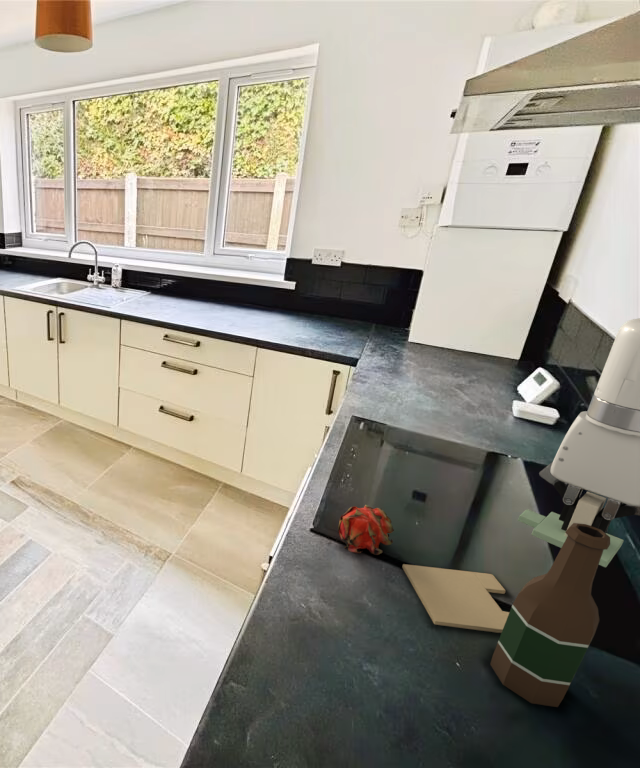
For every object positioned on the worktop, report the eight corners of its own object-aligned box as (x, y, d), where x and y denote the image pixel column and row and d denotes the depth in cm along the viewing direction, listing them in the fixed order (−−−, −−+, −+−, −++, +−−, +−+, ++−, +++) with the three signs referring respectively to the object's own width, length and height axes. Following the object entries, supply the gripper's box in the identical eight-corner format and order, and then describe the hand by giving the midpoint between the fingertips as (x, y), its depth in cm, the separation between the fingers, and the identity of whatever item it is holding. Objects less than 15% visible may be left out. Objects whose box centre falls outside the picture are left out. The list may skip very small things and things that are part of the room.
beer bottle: (571, 724, 55) (652, 564, 47) (491, 690, 59) (553, 537, 50) (557, 673, 61) (626, 524, 53) (485, 645, 65) (539, 502, 57)
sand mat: (490, 579, 77) (492, 574, 77) (538, 640, 66) (541, 634, 65) (401, 569, 79) (402, 563, 79) (433, 627, 68) (435, 621, 67)
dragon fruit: (382, 542, 88) (345, 574, 82) (351, 503, 91) (313, 532, 86) (415, 528, 81) (377, 562, 75) (380, 487, 84) (341, 517, 79)
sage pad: (621, 545, 65) (640, 504, 63) (605, 567, 61) (625, 524, 58) (530, 509, 73) (544, 470, 71) (511, 526, 69) (525, 486, 66)
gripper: (729, 430, 55) (666, 554, 61) (558, 391, 67) (520, 497, 74) (720, 446, 51) (653, 577, 57) (541, 401, 63) (502, 512, 70)
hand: (579, 531), depth 65 cm, fingers closed on sage pad
